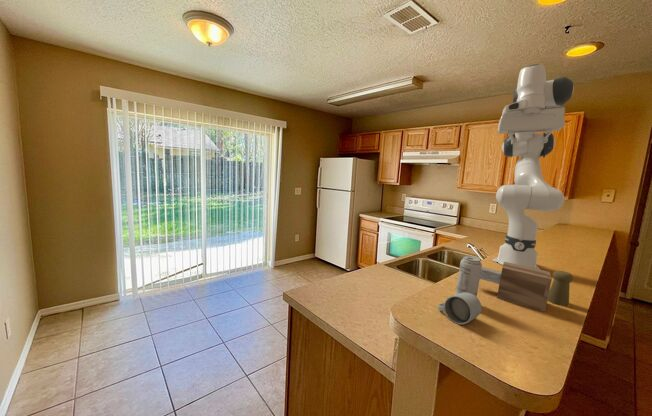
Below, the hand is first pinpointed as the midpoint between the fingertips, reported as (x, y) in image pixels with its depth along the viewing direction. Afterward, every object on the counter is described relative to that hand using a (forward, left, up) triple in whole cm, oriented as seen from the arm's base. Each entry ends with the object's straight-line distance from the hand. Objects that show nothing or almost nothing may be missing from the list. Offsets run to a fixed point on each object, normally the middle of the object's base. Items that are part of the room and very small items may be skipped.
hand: (528, 143), depth 101 cm
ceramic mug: (+46, -9, -55) cm, 72 cm away
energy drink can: (+34, -9, -55) cm, 65 cm away
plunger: (+17, -3, -51) cm, 54 cm away
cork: (+8, +16, -55) cm, 58 cm away
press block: (+17, +5, -55) cm, 58 cm away
